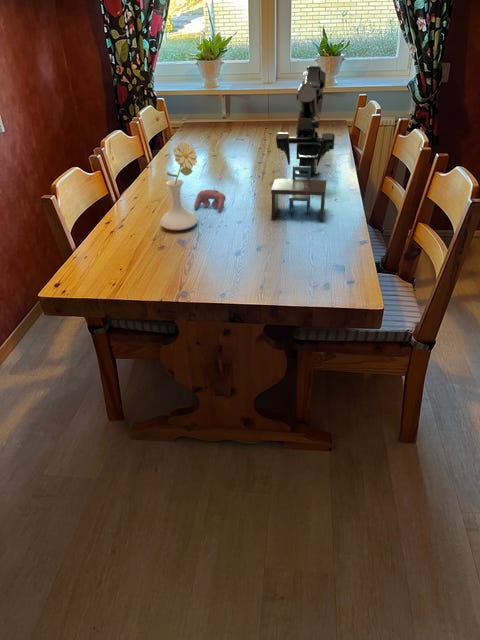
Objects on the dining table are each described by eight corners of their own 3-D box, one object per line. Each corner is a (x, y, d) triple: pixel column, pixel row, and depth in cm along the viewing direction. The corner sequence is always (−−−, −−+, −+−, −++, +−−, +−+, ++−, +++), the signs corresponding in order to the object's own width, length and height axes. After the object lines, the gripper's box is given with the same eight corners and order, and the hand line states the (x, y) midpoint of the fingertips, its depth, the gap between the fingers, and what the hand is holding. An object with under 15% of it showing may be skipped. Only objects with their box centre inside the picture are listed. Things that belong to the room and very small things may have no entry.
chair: (290, 205, 163) (291, 165, 156) (310, 206, 162) (312, 166, 155) (288, 213, 158) (289, 172, 151) (308, 213, 157) (310, 173, 150)
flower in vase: (168, 237, 146) (158, 151, 132) (155, 223, 155) (144, 141, 141) (208, 227, 151) (202, 143, 137) (194, 214, 159) (187, 134, 145)
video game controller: (225, 213, 164) (227, 191, 162) (220, 212, 159) (223, 189, 158) (197, 210, 166) (200, 189, 165) (192, 209, 162) (194, 187, 161)
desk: (275, 208, 162) (275, 178, 156) (324, 210, 159) (326, 180, 154) (271, 220, 154) (271, 189, 148) (323, 222, 151) (325, 191, 146)
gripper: (276, 106, 157) (272, 151, 154) (336, 106, 154) (333, 152, 151) (279, 126, 168) (275, 168, 165) (335, 126, 164) (332, 170, 162)
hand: (303, 165), depth 160 cm, fingers open, 9 cm apart
